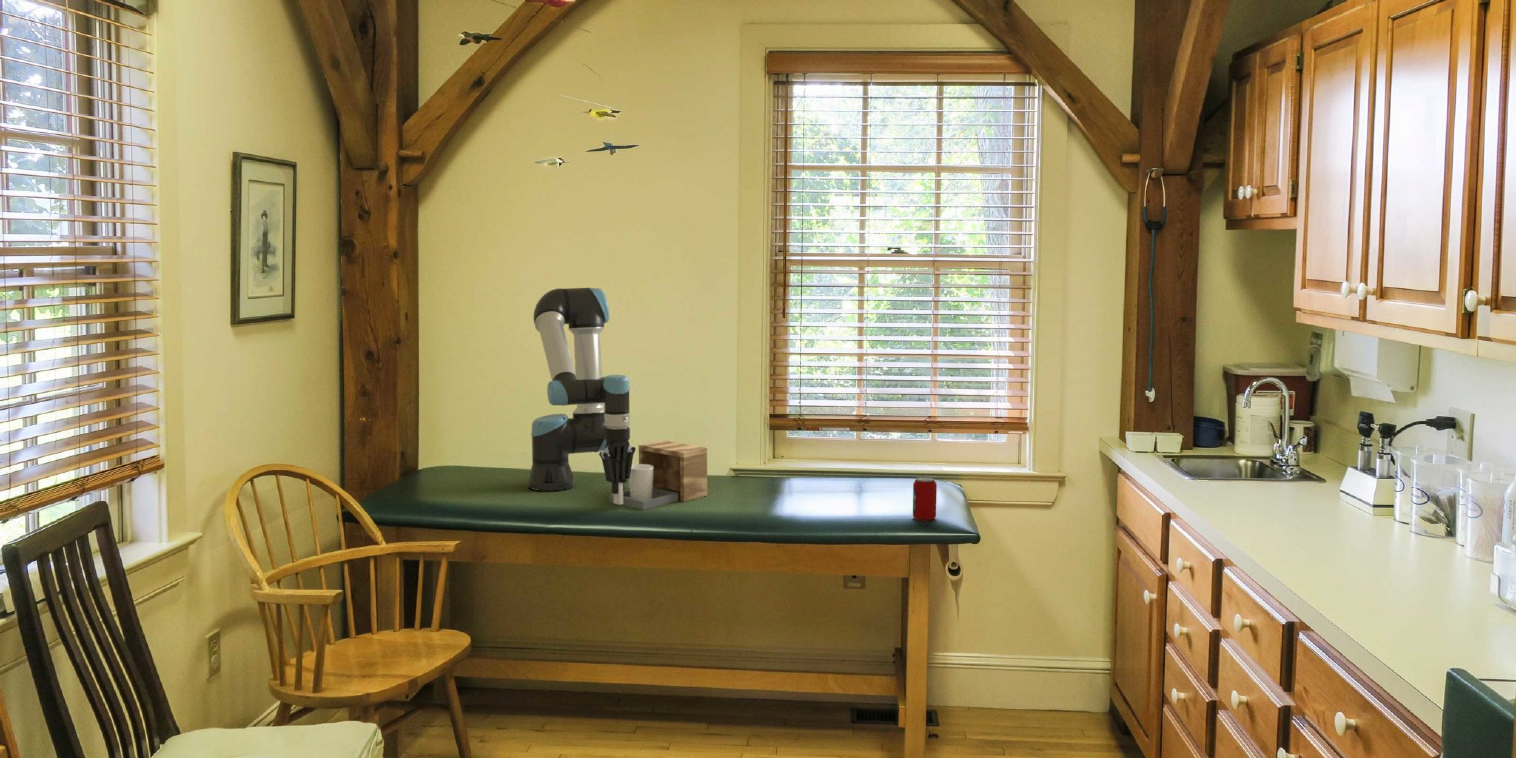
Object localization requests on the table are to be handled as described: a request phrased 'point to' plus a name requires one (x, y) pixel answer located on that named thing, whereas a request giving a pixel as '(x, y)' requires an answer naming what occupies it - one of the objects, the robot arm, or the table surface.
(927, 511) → the beverage can
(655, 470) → the wooden crate
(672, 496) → the tray
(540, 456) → the robot arm
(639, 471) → the white cup
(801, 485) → the table surface
